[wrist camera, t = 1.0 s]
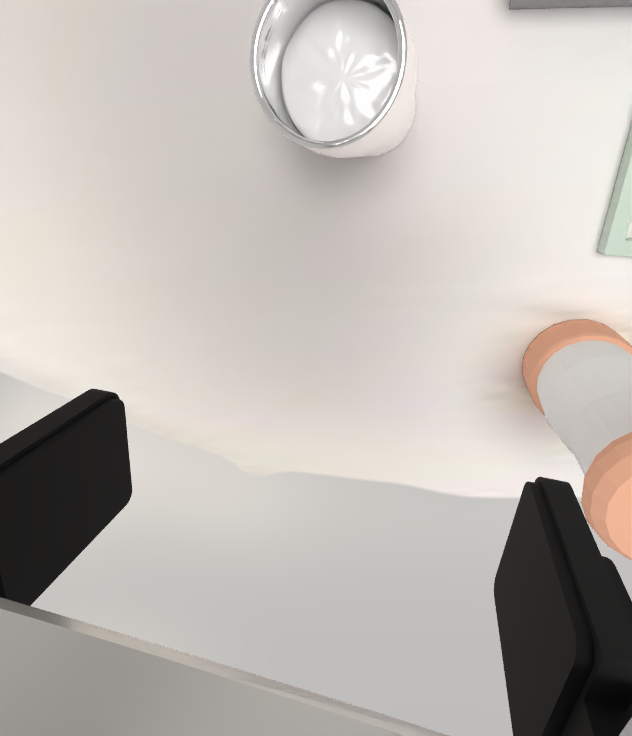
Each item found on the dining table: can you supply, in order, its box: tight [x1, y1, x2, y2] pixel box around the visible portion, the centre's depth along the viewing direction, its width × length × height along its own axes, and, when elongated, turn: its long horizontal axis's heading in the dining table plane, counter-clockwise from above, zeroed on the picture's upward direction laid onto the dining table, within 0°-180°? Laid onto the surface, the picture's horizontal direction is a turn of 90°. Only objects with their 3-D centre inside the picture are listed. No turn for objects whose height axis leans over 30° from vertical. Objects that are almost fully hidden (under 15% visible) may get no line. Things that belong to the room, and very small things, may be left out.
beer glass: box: [250, 0, 417, 158], centre depth 26 cm, size 7×7×15 cm
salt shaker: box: [522, 320, 632, 560], centre depth 27 cm, size 7×7×19 cm
